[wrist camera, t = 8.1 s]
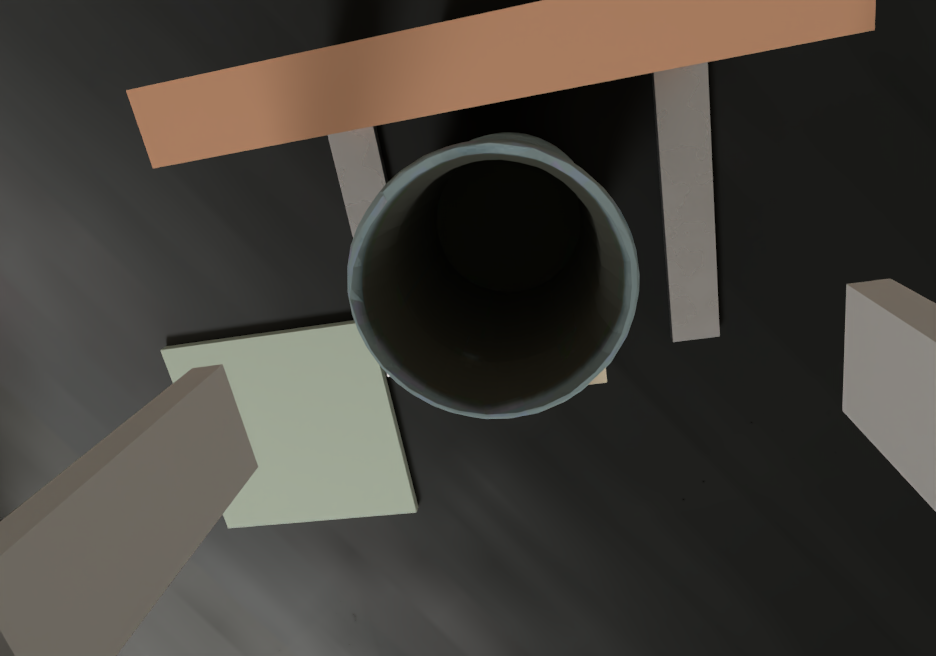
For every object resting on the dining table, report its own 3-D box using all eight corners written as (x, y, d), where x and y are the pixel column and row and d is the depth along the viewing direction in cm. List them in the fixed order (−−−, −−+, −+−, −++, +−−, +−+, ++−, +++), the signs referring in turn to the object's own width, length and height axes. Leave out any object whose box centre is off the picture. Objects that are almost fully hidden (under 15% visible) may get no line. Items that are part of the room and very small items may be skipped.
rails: (390, 372, 36) (387, 376, 36) (324, 105, 31) (320, 105, 31) (716, 332, 33) (719, 336, 33) (703, 29, 28) (706, 28, 28)
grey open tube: (602, 107, 30) (635, 120, 19) (611, 305, 33) (644, 415, 22) (398, 134, 31) (317, 161, 20) (428, 320, 35) (373, 429, 24)
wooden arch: (328, 132, 31) (153, 168, 17) (318, 90, 30) (125, 90, 16) (704, 60, 28) (874, 29, 14) (702, 11, 27) (878, -72, 13)
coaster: (232, 522, 42) (228, 528, 41) (166, 346, 37) (160, 350, 37) (418, 506, 39) (416, 512, 39) (371, 317, 35) (368, 321, 34)
